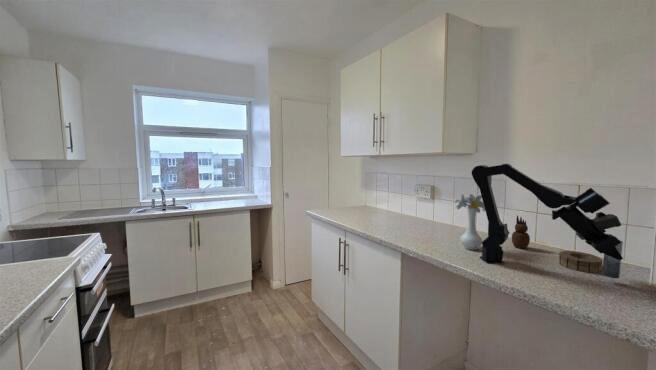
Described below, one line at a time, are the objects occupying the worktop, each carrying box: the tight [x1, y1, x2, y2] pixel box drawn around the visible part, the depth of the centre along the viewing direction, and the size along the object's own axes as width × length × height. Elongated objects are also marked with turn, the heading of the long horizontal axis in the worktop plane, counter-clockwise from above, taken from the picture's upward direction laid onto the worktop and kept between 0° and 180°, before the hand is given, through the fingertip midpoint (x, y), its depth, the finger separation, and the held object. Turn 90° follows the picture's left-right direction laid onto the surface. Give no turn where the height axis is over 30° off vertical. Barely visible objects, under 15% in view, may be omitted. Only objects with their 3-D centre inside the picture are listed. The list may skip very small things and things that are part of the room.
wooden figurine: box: [511, 214, 531, 250], centre depth 129 cm, size 7×6×15 cm
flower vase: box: [453, 193, 486, 251], centre depth 130 cm, size 13×18×25 cm
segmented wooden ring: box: [558, 250, 603, 274], centre depth 107 cm, size 12×12×4 cm
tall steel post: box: [601, 240, 624, 279], centre depth 93 cm, size 4×4×12 cm
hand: (618, 257), depth 92 cm, fingers closed on tall steel post, 4 cm apart
